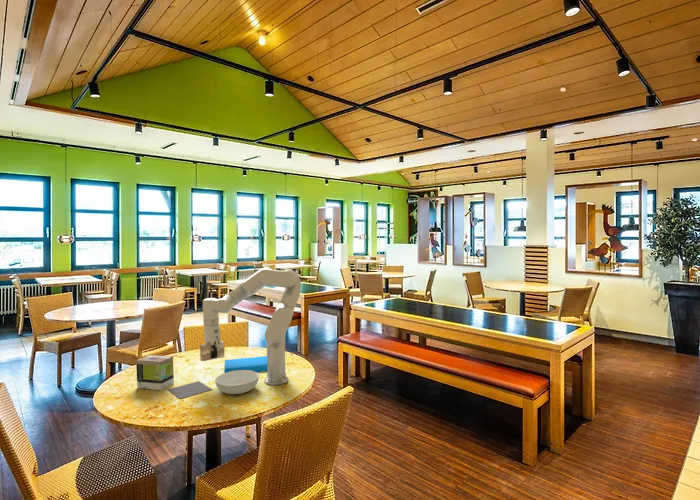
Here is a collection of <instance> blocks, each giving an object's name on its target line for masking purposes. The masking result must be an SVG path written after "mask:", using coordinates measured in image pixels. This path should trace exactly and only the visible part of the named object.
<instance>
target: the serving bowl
mask: <svg viewBox="0 0 700 500" xmlns="http://www.w3.org/2000/svg"><path fill="white" fill-rule="evenodd" d="M214 382H215V385H216V387H217V389H218V391H220V392H221V393H222V394H227V395H240V394H244V393H247V392H249V391H251V390H253V389H254V388H255V387H256V386H257V384H258V382H259V373H258V372H254V371H250V370H237V371H231V372H227V373H222V374H220V375H218V376H217V377H216V378H215V381H214Z"/></svg>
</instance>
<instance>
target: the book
mask: <svg viewBox="0 0 700 500" xmlns="http://www.w3.org/2000/svg"><path fill="white" fill-rule="evenodd" d="M223 369H224V373H227V372H231V371H237V370H250V371H254V372H256V373H258V372H267V355H264V356H255V357H253V356H252V357H247V358H246V357H244V358H241V357H240V358H233V359H225V360H224V368H223ZM224 373H223V374H224Z"/></svg>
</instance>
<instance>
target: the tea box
mask: <svg viewBox="0 0 700 500" xmlns="http://www.w3.org/2000/svg"><path fill="white" fill-rule="evenodd" d="M135 361H136V362H135V365H136V366H135V368H136V369H135V370H136V386H137V387H139V388H138V389H144V388H145V390H154V391H155V390H156V391H163V390H165V389H166V388H168V387H170V386H171V385H174V383H175V381H174V380H175V378H174V377H175V375H174V356H169V355H157V354H156V355H155V354H149V355H145V356H144V357H141V358H138V359H136V360H135ZM137 387H136V388H137Z"/></svg>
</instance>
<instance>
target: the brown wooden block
mask: <svg viewBox="0 0 700 500" xmlns="http://www.w3.org/2000/svg"><path fill="white" fill-rule="evenodd" d="M214 344H215V343H214ZM225 345H226V344H225V341H223V340H221V343H220V344H219V347H218V348H217V357H216V358H211V351H212V350H211V345H210V344H206V343H202V344H200V349H199V355H200V357H199V358H200V359H199V361H201V362H207V361H212V360H217V359H221V358H222V359H223V358H225V349H226V348H225ZM213 347H214V346H213Z"/></svg>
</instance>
